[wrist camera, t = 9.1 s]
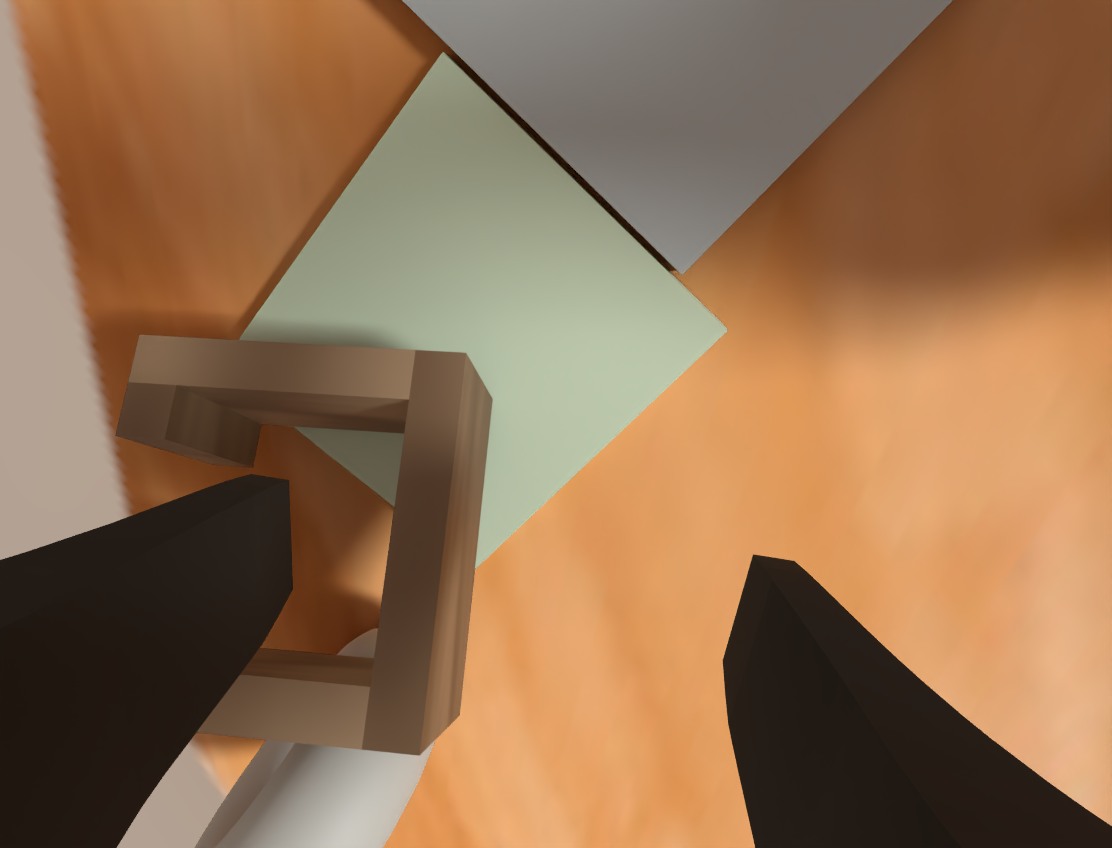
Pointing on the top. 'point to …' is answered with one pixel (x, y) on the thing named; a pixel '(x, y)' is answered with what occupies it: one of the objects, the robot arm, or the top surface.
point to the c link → (416, 535)
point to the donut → (317, 792)
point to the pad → (489, 296)
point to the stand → (679, 91)
